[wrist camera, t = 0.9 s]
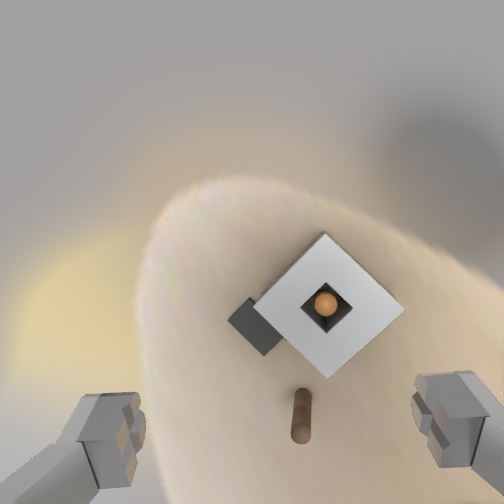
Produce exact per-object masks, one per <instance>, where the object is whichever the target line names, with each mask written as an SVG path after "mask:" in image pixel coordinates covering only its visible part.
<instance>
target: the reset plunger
mask: <svg viewBox="0 0 504 504" xmlns="http://www.w3.org/2000/svg"><path fill="white" fill-rule="evenodd" d="M315 308H316V311H317V312H318V313H319V314H321V315H323V316H329V315H332V314H333V313H334V312H335V311H336V309H337V301H336V297H335V295H334V294H333V293H332V292H330V291H321V292H319V293H318V294H317V295H316V297H315Z"/></svg>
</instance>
